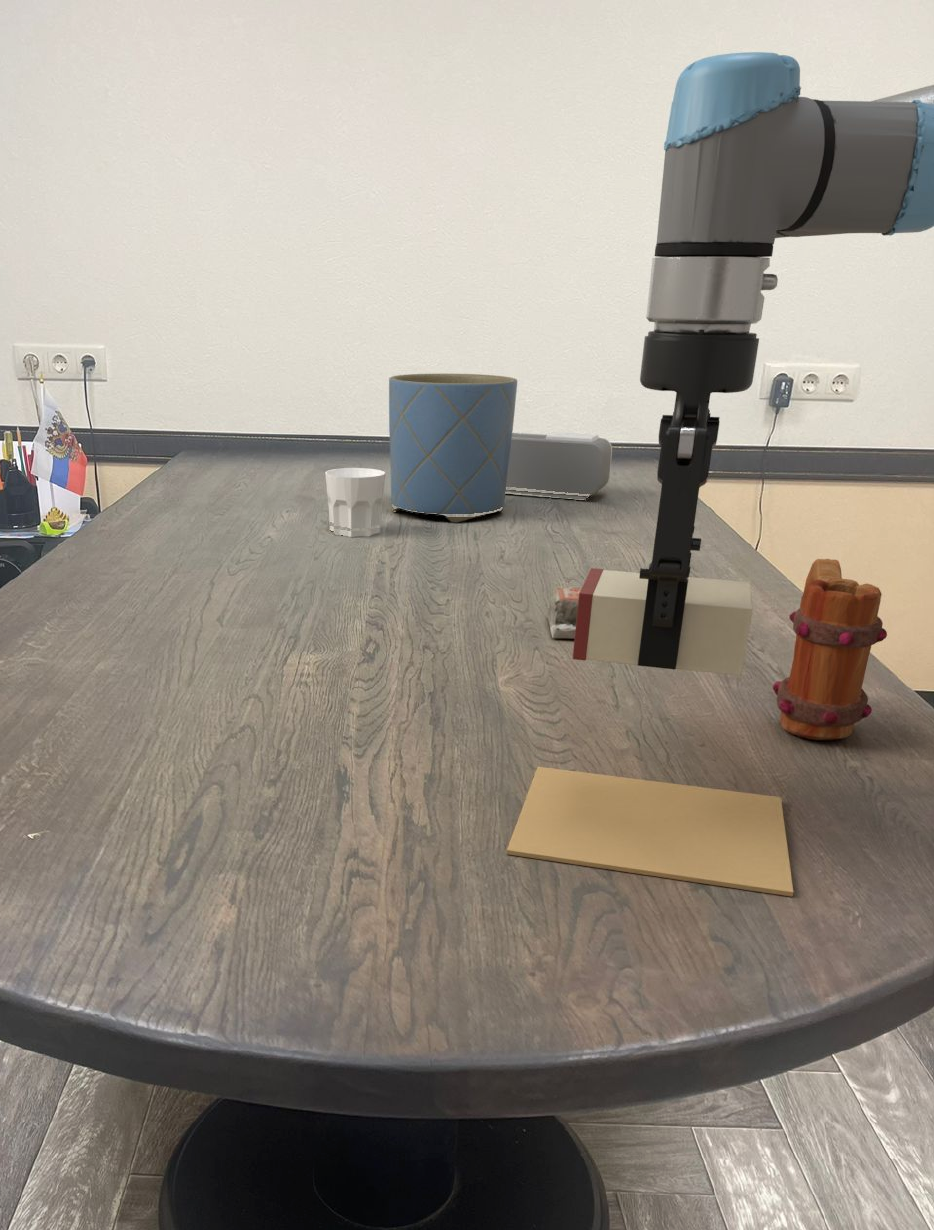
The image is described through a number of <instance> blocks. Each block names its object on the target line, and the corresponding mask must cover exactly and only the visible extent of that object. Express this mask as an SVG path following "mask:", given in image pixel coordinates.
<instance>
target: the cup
mask: <svg viewBox="0 0 934 1230" xmlns="http://www.w3.org/2000/svg"><path fill="white" fill-rule="evenodd" d="M324 473H325V483H326V495H327V504H328V505H327V506H328V507H327V508H328V521H329V523H330V522H332V523H334V526H341V527H347V528H350V529H353V528H371V527H372V526H375V525H380V527H379V528H374V529H371V531H366V530H364V531H352V532H351V531H347V530H340V529H334V527H333V526H330V525H329V531H330V530H331V531H334V532H333V533H334V536H341V535H343V536H342V537H348V538H357V537H369V538H370V537H371V536H373V535H376V534H381V523H382V514H383V513H382V512H383V511H382V510H383V500H384V492H385V491H384V489H385V482H386V480H385V479H386V471H384V470H381V469H376V468H367V467H344V468H343V467H342V468H334V469H329V470H326V471H325V472H324ZM331 531H330V532H331Z"/></svg>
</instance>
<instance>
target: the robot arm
mask: <svg viewBox="0 0 934 1230" xmlns="http://www.w3.org/2000/svg"><path fill="white" fill-rule="evenodd" d="M800 84H801V67H800V64H799V62H798V61H797V59H796V58H794V57H793V56H790V55H786V54H785V55H784V54H780V55H779V54H778V53H775V52H765V51H764V52H763V51H756V52H755V51H754V52H753V51H750V52H745V51H744V52H731V53H724V54H717V55H716V54H715V55H712V56H711V55H710V56H707V57H704V58H700V59H698V60H695V61H693V62H692V63H690V64H688V65H687V66H686V67H685V68H684V69H683V71H681V73H680V74H679V76H678V78H677V81H676V83H675V87H674V88H675V89H674V93H673V99H672V102H671V105H670V106H671V107H670V113H669V119H668V123H667V124H668V125H667V131H666V137H665V141H664V143H663V151H664V159H663V169H662V180H661V181H662V183H661V190H660V192H661V193H660V201H659V202H660V203H659V215H658V223H657V235H656V244H655V249H654V257H652V261H651V270H650V280H649V286H648V287H649V288H648V298H647V299H648V300H647V307H646V316H645V318H646V319H647V321H648V322H651V323H654V325H653V330H649V331H648V332H647V335H645V336H644V339H643V340H644V341H643V350H642V358H641V367H640V374H639V381H640V385H641V386H643V388H645V389H649V390H653V391H660V392H675V401H674V408H673V412H672V414H662V417H661V419H660V423H659V428H658V444H659V447H660V449H659V455H658V456H659V457H658V463H657V464H658V465H657V473H656V474H657V475H656V476H657V477H656V479H657V482H658V483H659V484H661V489H660V498H659V504H658V512H657V519H656V526H655V527H656V528H655V537H654V543H653V549H652V558H651V562H650V563H649V565H648V568H640V569H639V573H640V576H639V579H648V586H647V594H646V602H645V610H644V618H643V626H642V634H641V642H640V650H639V658H638V665H637V667H646V668H647V667H648V668H657V669H665V670H666V669H667V670H677V669H676V664H677V657H678V649H679V642H680V635H681V628H682V621H683V614H684V607H685V600H686V593H687V586H688V579H687V578H688V577H690V573H691V560H692V552H691V551H695V552H696V551H697V552H700V551H701V544H702V538H699V537H697V538H696V537H693V536H694V533H695V528H696V526H695V523H696V515H697V509H698V500H699V494H700V488H701V487H703V486H705V485H706V483H707V482H708V479H709V473H710V468H711V467H710V466H711V460H712V453H713V452H712V451H713V450H714V448H715V447H716V446H717V442H718V436H719V429H720V419H721V418H720V416H711V412H710V408H709V407H710V399H711V394H712V393H720V394H721V393H722V394H731V393H741V392H745V391H747V390H748V389H750V388H751V387H752V385H753V381H754V376H755V369H756V362H757V356H758V349H759V343H760V338H759V337H758V335H757V333H756V332H750V331H751V325H754V324H757V323H758V322H760V321H761V320H762V316H763V312H764V311H763V310H764V305H765V304H764V303H765V298H766V297H765V296H764V295H763V293H762V291H772V290H773V291H774V290H775V289H776V288H777V287H778V282H779V281H778V279H779V278H778V276H777V274H774V273H764V272H765V271H766V270H768V268H769V267H770V266H771V265H770V264H771V257H773V253H774V244H775V240H776V239H782V238H800V237H801V238H802V237H816V236H817V237H818V236H831V235H847V234H881V235H882V236H893V235H894V234H911V233H921V232H926V231H928V230H930V229H932V228H934V84H931V85H926V86H923V87H919V88H915V89H912V90H908V91H905V92H901V93H897V94H893V95H889V96H886V97H882V98H877V99H874V100H871V101H867V100H865V101H863V100H859V101H858V100H820V99H813V98H809V97H807V96H800V95H801V91H802V90H801V89H802V87H801V85H800Z"/></svg>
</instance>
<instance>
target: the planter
mask: <svg viewBox="0 0 934 1230" xmlns="http://www.w3.org/2000/svg"><path fill="white" fill-rule="evenodd" d="M517 390H518V379H517V378H515V377H510V376H504V375H493V374H477V373H412V374H411V373H410V374H398V375H392V376H390V377H389V378H388V424H389V425H388V427H389V428H388V430H389V431H388V432H389V433H388V434H389V460H390V461H389V463H390V501H391V505H392V504H393V505H394V506H396V507H401V508H403V509H407V510H411V511H417V512H424V513H437V514H474V513H483V512H489V511H494V510H497V509H500V508H501V507H503V509H502V510H501V511H500V512H503V510H504V506H505V501H506V500H505V499H506V495H505V491H506V482H507V473H508V464H509V455H510V448H511V440H512V432H513V430H514V421H515V413H516V399H517ZM513 433H514V432H513ZM392 509H393V510H392ZM391 510H392V512H393V511H397V512H398V509H394V508H393V507H392V506H391ZM483 516H485V515H483ZM483 516H482V517H483ZM479 517H480V516H475V517H445V518H446V519H447V520H448V521H449V522H450V523H452V522H456V523H460V522H464V521H467V520H471V519H476V518H479Z"/></svg>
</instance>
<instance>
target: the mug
mask: <svg viewBox="0 0 934 1230" xmlns="http://www.w3.org/2000/svg"><path fill="white" fill-rule="evenodd" d="M842 575H843V574H842V567H841V564H840V561H839V560H838V559H831V558H816V559H815V560H814V561H813V562H812V564H811V566H810V568H809V571H808V574H807V577H806V579H805V584H804V588H803V592H802V596H801V598H800V599H801V600H800V605H799V608H798V609H797V610H795V611H793V612H791V613H790V614H789V620H790V621H791V622H792V624H793V625H792V630H793V632H794V633H795V643H794V649H793V659H792V664H791V668H790V669H791V670H790V673H789V676H788V677H786V678H784V679H783V680H778V681H776V682H775V683H774V684H772V691H773V692H774V694H775V695H776V704H777V708H778V709H779V711H781V713H780V726H781V728H782V729H784V731H786V732H788V733H790V734H791V735H794V736H797V737H799V738H806V739H807V740H815V741H834V740H839V739H840V740H841V739H845V738H847V737H849V736H851V735H852V732H853V730H854V729H853V728H854V725H855V724H857V723H859V722H860V721H862V720H864V719H865V718H868V716H870V715H871V714H872V712H873V709H872V707H871V705H869V704H868V701H869V696H868V695H867V693H866V692H865V690H864V689H863V684H864V680H865V675H866V670H867V666H868V662H869V657H870V654H871V650H872V646H873V645H875V644H877V643H880V642H883V641H884V640H885V639H886V638H887V636H888V632H887V630H886V629H885V628H884V627H883V624H884V623H883V620H882V619H881V618H880V617H879V616H878V615H879V611H880V607H881V599H882V595H883V594H882V592H881V589H880V587H878V586H876V585H873V584H871V583H864V584H859V583H858V581H856V580H854V579H850V578H849V579H847V578H843V577H842Z"/></svg>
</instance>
